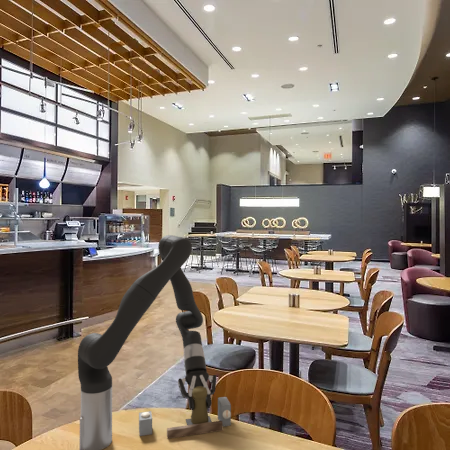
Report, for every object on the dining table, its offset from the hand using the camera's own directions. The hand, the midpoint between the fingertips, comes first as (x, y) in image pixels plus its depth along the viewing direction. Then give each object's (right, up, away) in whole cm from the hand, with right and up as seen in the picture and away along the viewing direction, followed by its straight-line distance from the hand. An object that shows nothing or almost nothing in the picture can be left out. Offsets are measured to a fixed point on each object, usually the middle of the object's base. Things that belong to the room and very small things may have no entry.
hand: (200, 408), depth 123 cm
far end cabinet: (+8, -6, +4) cm, 11 cm away
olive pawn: (0, -5, +2) cm, 6 cm away
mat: (0, -6, +2) cm, 7 cm away
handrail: (-2, -6, -3) cm, 7 cm away
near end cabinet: (-18, -6, -2) cm, 19 cm away
